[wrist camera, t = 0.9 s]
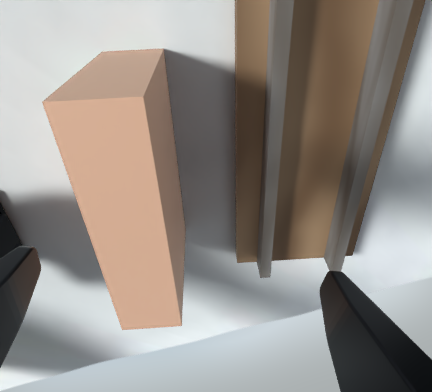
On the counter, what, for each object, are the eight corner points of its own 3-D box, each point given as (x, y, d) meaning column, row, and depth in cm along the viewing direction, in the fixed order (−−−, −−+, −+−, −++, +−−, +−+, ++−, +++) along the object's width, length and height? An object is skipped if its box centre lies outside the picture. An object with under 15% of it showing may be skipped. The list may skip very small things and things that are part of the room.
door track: (235, 252, 29) (239, 279, 26) (234, -16, 17) (241, -15, 15) (347, 245, 29) (361, 271, 26) (419, -25, 17) (455, -25, 15)
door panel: (142, 231, 27) (122, 329, 20) (102, 51, 19) (42, 101, 11) (185, 229, 27) (181, 325, 20) (163, 48, 19) (143, 96, 12)
